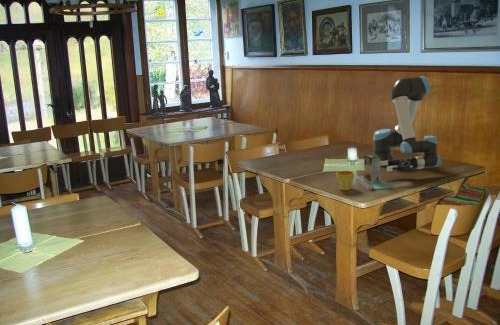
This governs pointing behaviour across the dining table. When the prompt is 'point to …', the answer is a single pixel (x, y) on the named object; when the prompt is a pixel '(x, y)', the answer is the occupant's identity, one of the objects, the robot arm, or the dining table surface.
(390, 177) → the dining table surface
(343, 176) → the plant pot
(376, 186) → the pad
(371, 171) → the coffee box
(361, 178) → the steel rail
